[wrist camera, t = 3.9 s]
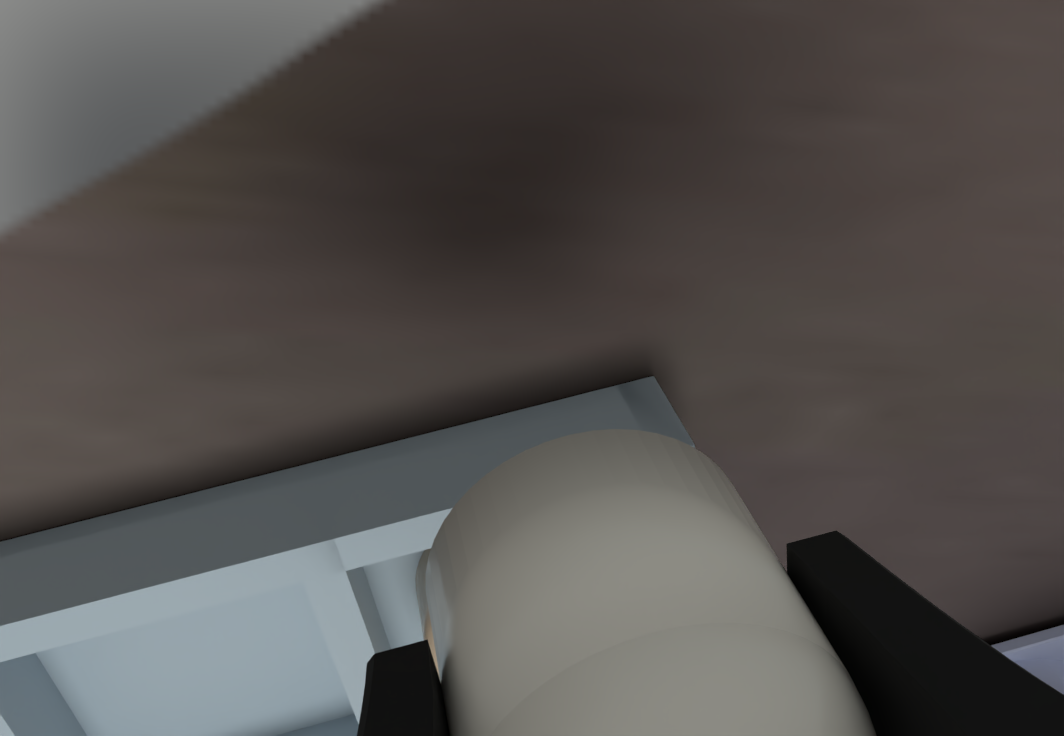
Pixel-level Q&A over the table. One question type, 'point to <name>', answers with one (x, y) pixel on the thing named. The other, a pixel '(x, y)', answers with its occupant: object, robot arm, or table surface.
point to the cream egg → (624, 603)
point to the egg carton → (255, 585)
